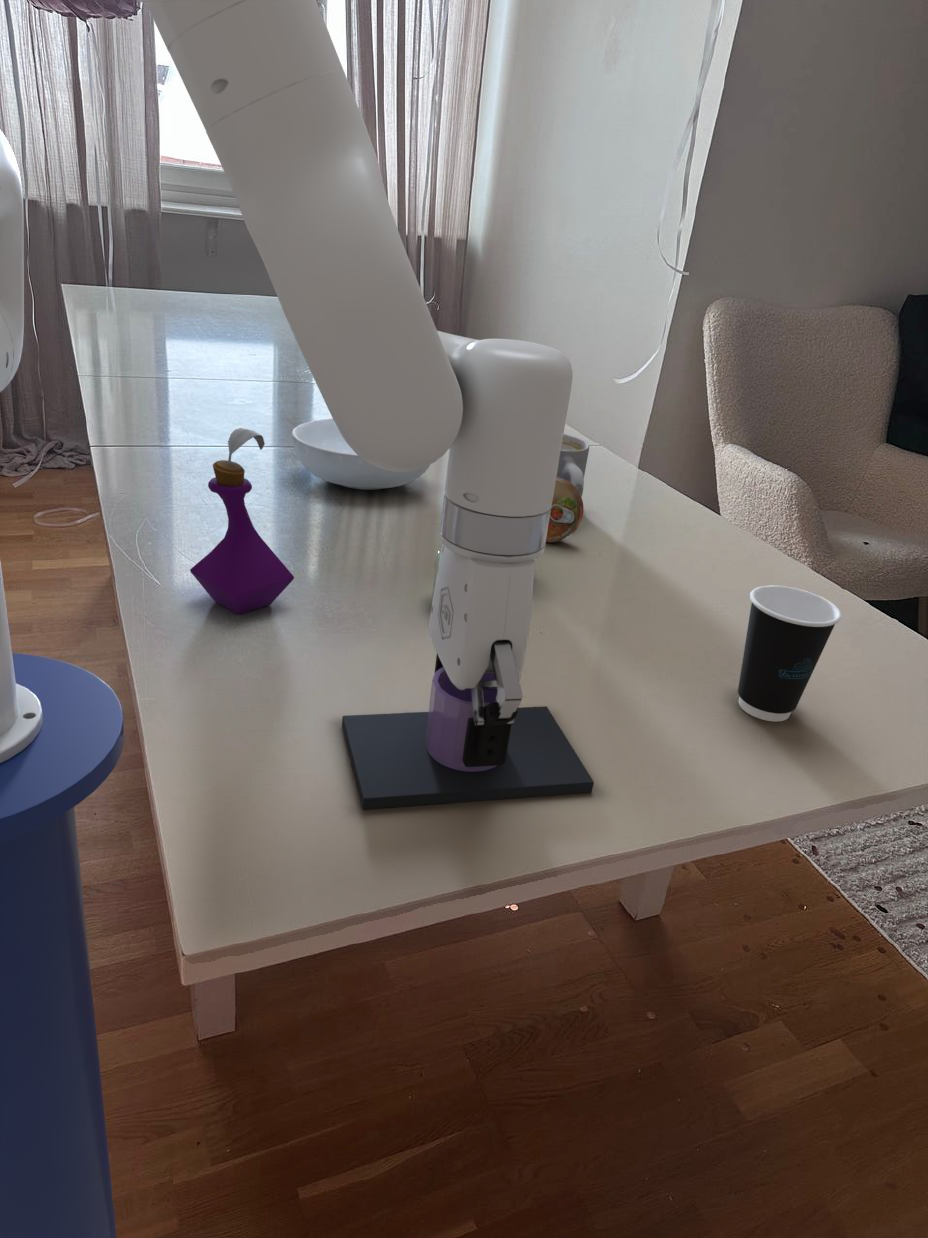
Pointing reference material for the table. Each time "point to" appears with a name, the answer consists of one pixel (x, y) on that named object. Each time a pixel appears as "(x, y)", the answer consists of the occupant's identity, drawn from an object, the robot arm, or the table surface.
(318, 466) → the serving bowl
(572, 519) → the tin
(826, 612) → the dixie cup
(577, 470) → the coffee mug
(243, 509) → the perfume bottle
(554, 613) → the table surface
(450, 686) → the lavender cup
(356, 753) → the placemat
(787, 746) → the table surface
